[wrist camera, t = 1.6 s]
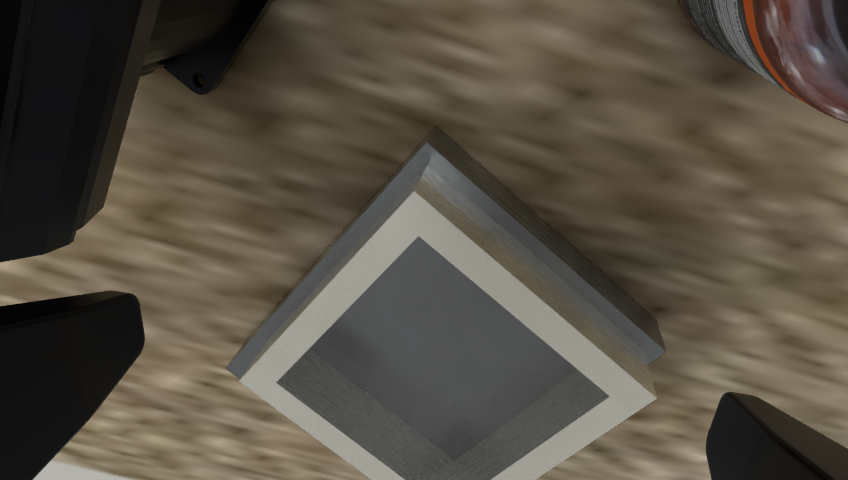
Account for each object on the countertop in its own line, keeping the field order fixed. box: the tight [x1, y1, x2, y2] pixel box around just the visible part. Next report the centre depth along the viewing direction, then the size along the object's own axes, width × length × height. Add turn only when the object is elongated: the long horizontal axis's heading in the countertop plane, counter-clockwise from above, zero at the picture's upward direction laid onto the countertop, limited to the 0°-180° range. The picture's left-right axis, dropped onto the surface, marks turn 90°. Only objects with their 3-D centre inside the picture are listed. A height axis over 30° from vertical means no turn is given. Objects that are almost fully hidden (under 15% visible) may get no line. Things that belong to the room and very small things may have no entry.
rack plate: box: [225, 126, 666, 480], centre depth 23 cm, size 13×11×4 cm
